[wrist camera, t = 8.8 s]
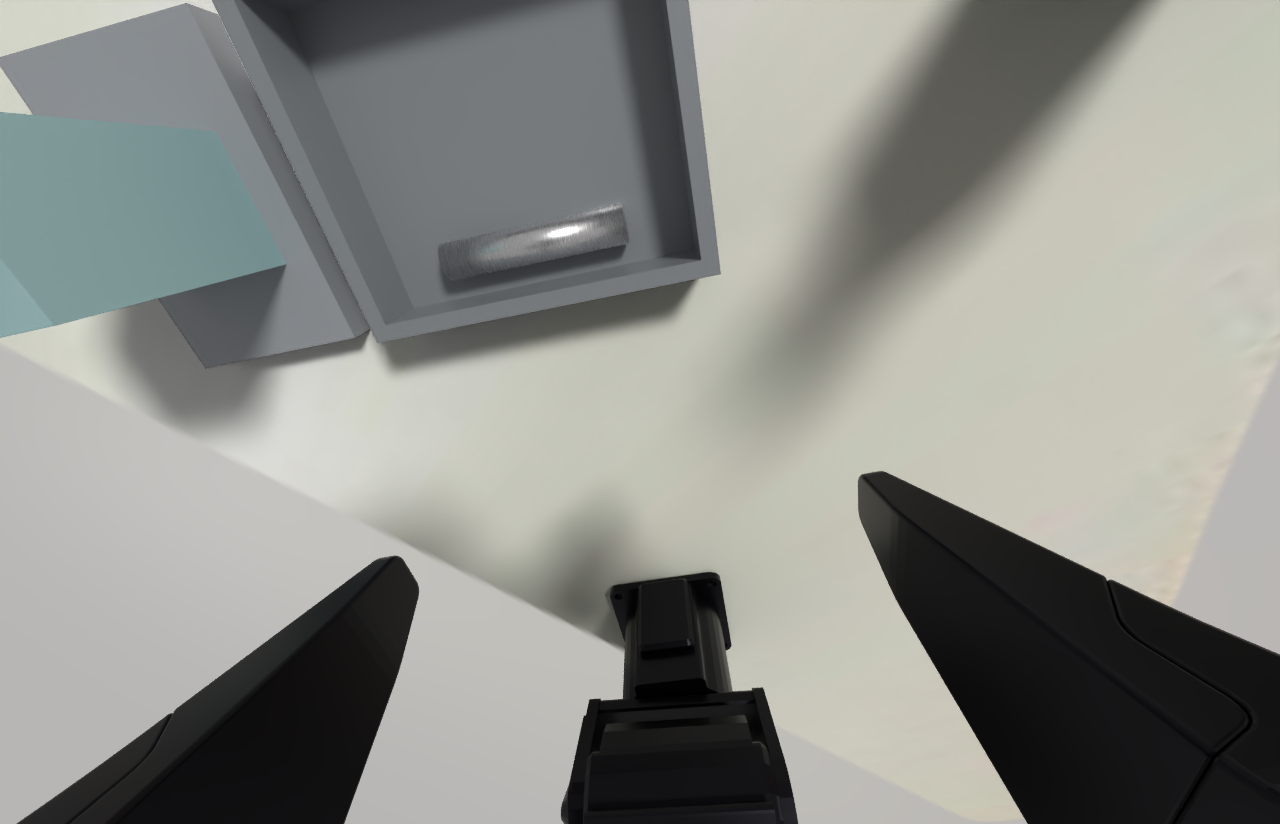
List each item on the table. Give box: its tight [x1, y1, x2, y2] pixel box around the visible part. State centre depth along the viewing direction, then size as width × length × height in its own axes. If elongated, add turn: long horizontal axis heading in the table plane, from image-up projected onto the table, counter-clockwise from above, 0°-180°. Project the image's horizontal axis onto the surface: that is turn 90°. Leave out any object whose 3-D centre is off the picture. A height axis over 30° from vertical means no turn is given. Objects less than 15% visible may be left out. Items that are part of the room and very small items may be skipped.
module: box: [0, 112, 286, 338], centre depth 13 cm, size 4×4×9 cm
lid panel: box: [0, 3, 370, 368], centre depth 18 cm, size 11×7×1 cm, turn 11°
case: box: [212, 0, 721, 343], centre depth 16 cm, size 12×13×3 cm
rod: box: [438, 203, 630, 281], centre depth 18 cm, size 1×7×1 cm, turn 102°
